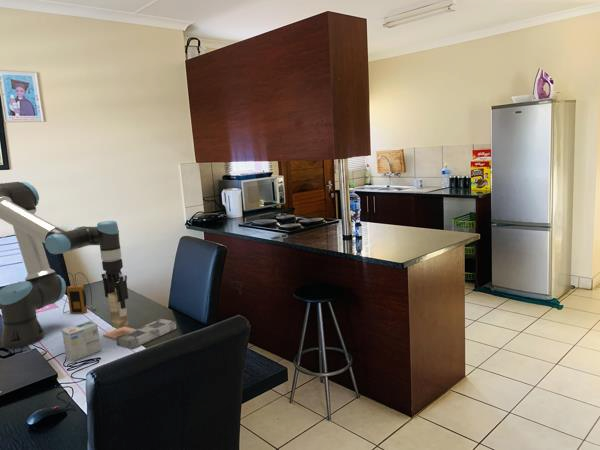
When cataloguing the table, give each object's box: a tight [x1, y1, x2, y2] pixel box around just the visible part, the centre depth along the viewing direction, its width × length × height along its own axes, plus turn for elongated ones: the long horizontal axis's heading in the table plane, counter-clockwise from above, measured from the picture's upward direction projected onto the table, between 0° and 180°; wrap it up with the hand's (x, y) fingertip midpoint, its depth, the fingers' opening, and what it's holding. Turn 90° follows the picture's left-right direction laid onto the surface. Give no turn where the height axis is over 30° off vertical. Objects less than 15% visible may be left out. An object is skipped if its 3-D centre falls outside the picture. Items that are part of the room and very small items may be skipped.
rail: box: [115, 318, 177, 350], centre depth 182 cm, size 22×9×3 cm, turn 147°
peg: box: [107, 291, 129, 329], centre depth 186 cm, size 4×4×14 cm
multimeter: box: [62, 272, 97, 314], centre depth 219 cm, size 15×10×20 cm
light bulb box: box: [61, 320, 102, 362], centre depth 169 cm, size 11×7×11 cm, turn 141°
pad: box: [102, 326, 136, 341], centre depth 187 cm, size 10×10×1 cm
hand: (118, 314), depth 186 cm, fingers closed on peg, 4 cm apart
